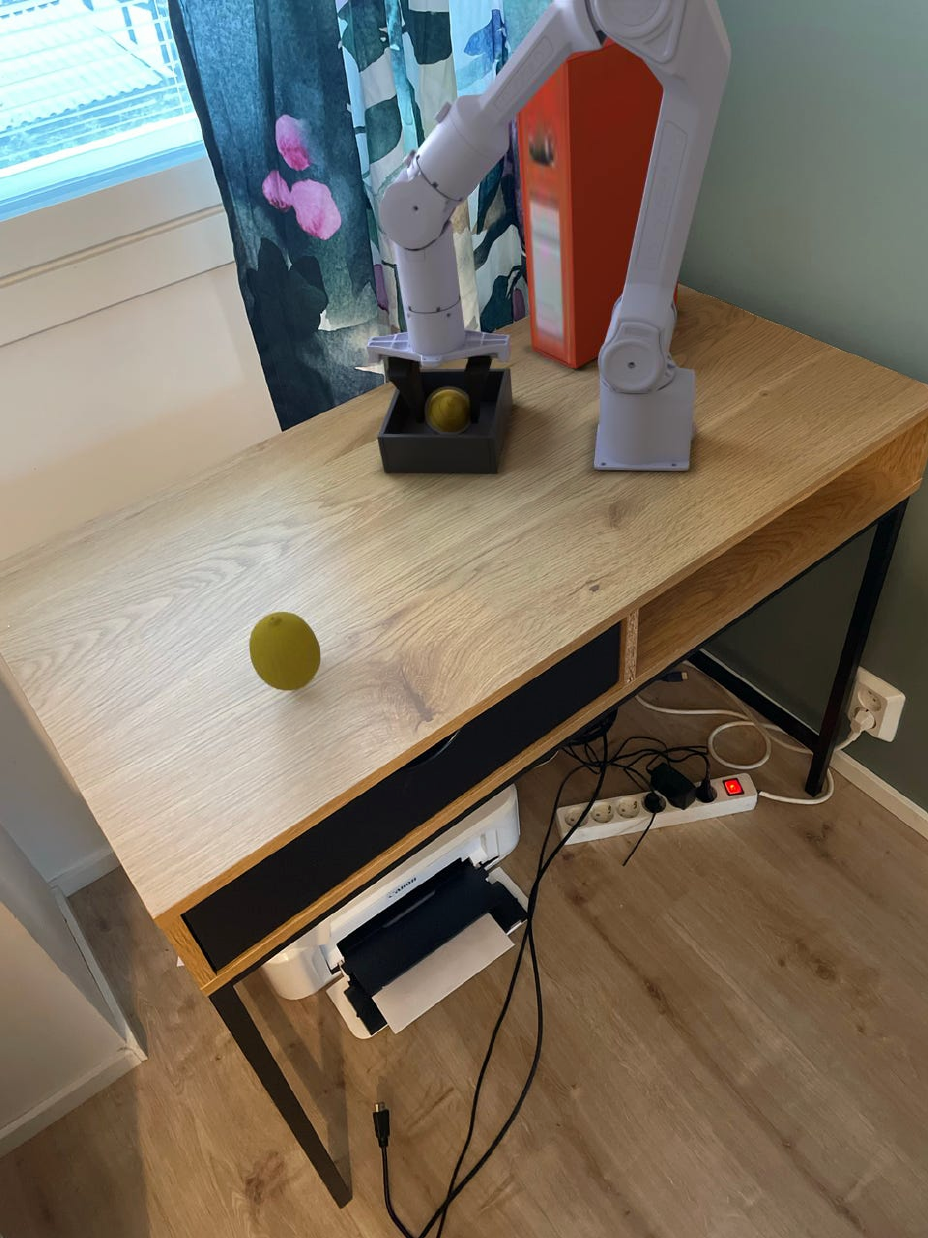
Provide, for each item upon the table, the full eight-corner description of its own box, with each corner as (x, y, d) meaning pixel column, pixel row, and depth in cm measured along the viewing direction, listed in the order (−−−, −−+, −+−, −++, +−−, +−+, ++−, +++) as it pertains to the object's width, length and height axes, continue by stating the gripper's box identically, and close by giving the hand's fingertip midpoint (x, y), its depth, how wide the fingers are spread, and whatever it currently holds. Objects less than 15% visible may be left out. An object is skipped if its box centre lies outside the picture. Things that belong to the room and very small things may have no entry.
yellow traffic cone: (481, 417, 101) (488, 398, 91) (448, 451, 101) (451, 436, 91) (447, 383, 100) (450, 360, 90) (414, 417, 100) (413, 398, 90)
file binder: (530, 348, 110) (512, 49, 87) (628, 295, 117) (635, 5, 94) (576, 370, 105) (570, 61, 83) (676, 315, 112) (695, 14, 89)
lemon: (267, 663, 78) (241, 598, 72) (330, 655, 78) (309, 589, 72) (262, 713, 74) (234, 648, 68) (328, 704, 74) (306, 639, 68)
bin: (512, 403, 102) (510, 367, 99) (497, 473, 93) (493, 437, 90) (409, 403, 104) (403, 368, 101) (384, 472, 95) (376, 437, 92)
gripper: (350, 320, 86) (375, 439, 96) (499, 317, 83) (509, 440, 93) (367, 286, 91) (389, 402, 101) (509, 282, 88) (518, 402, 98)
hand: (448, 418), depth 97 cm, fingers closed on yellow traffic cone, 5 cm apart
